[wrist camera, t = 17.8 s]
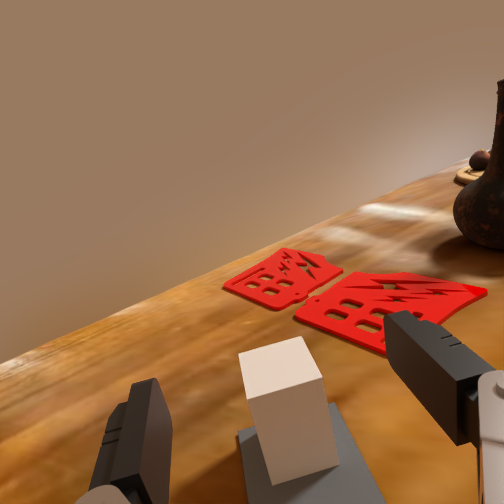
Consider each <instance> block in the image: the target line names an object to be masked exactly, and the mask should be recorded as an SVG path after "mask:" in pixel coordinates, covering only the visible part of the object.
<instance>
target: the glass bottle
mask: <svg viewBox="0 0 504 504" xmlns="http://www.w3.org/2000/svg"><path fill="white" fill-rule="evenodd" d="M497 84H498V91H497V94H498V102H497V114H496V125H495V132H494V139H493V145H492V150H491V154H490V158H489V162H488V165H487V167H486V169H485V171H484V173H483V174H482V175H481V176H480V177H479V178H477V179H476V180H474V181H472V182H470V183H469V184H468V185H466V186H465V187H464V188H463V189H462V190H461V191H460V193H459V194H458V196H457V197H456V199H455V202H454V206H453V215H454V220H455V222H456V225H457V227H458V228H459V230H460V231H461V232H462V234H463V235H464V236H466V237H467V238H468V239H469V240H471V241H473V242H474V243H476V244H479V245H481V246H485V247H488V248H495V249H504V79H503V80H500V81H498V82H497Z"/></svg>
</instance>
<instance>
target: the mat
mask: <svg viewBox="0 0 504 504" xmlns="http://www.w3.org/2000/svg"><path fill="white" fill-rule="evenodd" d="M328 408H329V413H330V418H331V423H332V428H333V433H334V438H335V444H336V449H337V454H338V459H339V464H340V465H337V466H334V467H331V468H328V469H324V470H321V471H318V472H315V473H312V474H308V475H305V476H302V477H299V478H295V479H292V480H289V481H286V482H283V483H279V484H276V485H273V486H272V483H271V480H270V476H269V473H268V469H267V466H266V463H265V459H264V456H263V452H262V449H261V445H260V442H259V438H258V435H257V432H256V428H255V426H253V427H250V428H247V429H243V430H240V431H238V435H239V442H240V449H241V456H242V463H243V470H244V477H245V484H246V491H247V497H248V504H386V502H385V500H384V498H383V496H382V494H381V492H380V490H379V488H378V486H377V484H376V482H375V480H374V478H373V476H372V474H371V472H370V471H369V469H368V467H367V465H366V463H365V461H364V459H363V457H362V455H361V453H360V451H359V449H358V447H357V445H356V443H355V441H354V439H353V438H352V436H351V434H350V432H349V430H348V428H347V426H346V424H345V422H344V420H343V418H342V416H341V414H340V412H339V410H338V408H337V406H336V405H335V403H334V402H333V403H330V404H328Z"/></svg>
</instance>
